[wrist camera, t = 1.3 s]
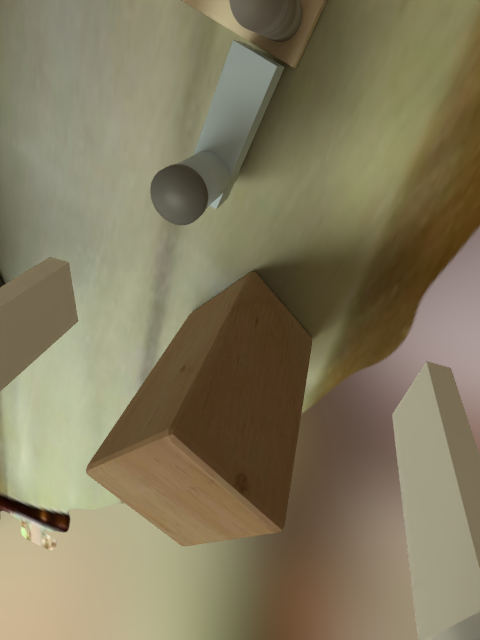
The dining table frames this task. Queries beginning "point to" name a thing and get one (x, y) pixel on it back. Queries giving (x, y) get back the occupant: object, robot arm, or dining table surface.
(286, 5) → the wooden twin post stand
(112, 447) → the wooden block
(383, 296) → the dining table surface
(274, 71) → the hinged leg
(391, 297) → the dining table surface
